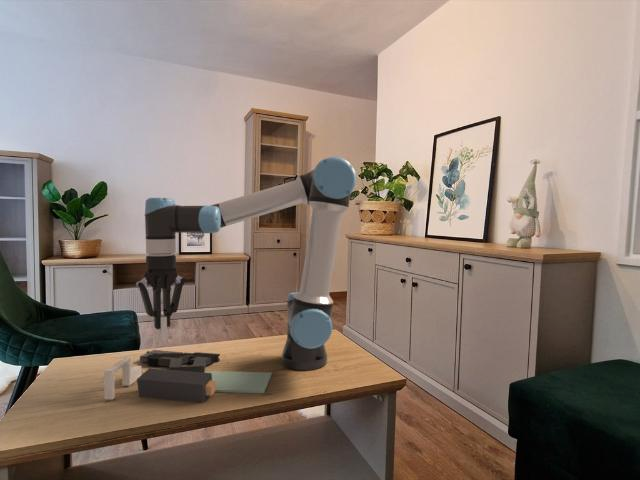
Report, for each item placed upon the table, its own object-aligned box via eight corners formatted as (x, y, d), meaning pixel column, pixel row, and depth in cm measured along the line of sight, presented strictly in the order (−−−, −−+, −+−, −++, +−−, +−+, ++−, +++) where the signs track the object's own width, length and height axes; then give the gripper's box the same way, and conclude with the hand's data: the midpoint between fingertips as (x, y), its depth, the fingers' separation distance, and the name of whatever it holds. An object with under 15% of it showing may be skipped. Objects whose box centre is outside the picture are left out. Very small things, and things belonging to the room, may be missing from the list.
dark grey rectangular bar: (218, 391, 96) (217, 373, 95) (209, 403, 91) (208, 385, 90) (151, 385, 99) (149, 368, 98) (139, 397, 94) (136, 379, 93)
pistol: (197, 370, 104) (222, 353, 119) (120, 362, 109) (152, 348, 124) (197, 377, 104) (221, 360, 119) (120, 370, 109) (152, 354, 124)
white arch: (141, 376, 106) (141, 351, 106) (112, 399, 92) (111, 371, 92) (134, 375, 106) (134, 351, 106) (104, 399, 92) (104, 370, 92)
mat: (271, 374, 109) (271, 372, 109) (264, 393, 97) (264, 391, 97) (186, 372, 110) (186, 370, 110) (168, 390, 98) (168, 388, 98)
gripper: (179, 252, 106) (180, 331, 107) (131, 255, 97) (133, 341, 98) (190, 254, 100) (191, 337, 102) (139, 257, 92) (141, 348, 93)
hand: (162, 339), depth 100 cm, fingers closed
